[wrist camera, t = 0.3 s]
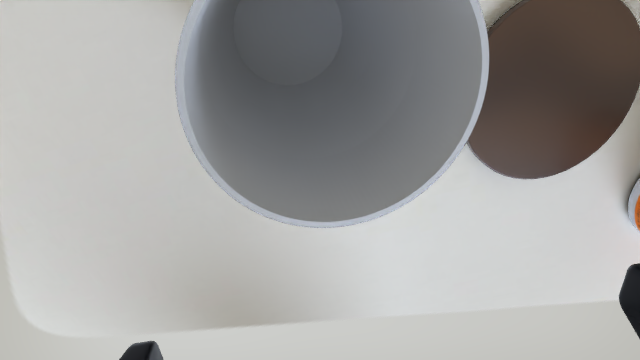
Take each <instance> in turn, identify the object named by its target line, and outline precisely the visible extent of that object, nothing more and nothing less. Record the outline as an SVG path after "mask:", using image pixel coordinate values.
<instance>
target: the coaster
mask: <svg viewBox="0 0 640 360" xmlns="http://www.w3.org/2000/svg"><path fill="white" fill-rule="evenodd" d="M487 35H488V44H489V72H488V81H487V87H486V92H485V97H484V101H483V104H482V108H481V111H480V114H479V116H478V119H477V121H476V124H475V126H474V128H473V130H472V132H471V134H470V136H469V138H468V140H467V144H468V146H469V148H470V149H471V151H472V152H473V153H474V155H475V156H476V157H477V158H478V159H479V160H480V161H481V162H482V163H483V164H485V165H486V166H487V167H489V168H490V169H492V170H493V171H495V172H497V173H499V174H502V175H504V176H508V177H512V178H518V179H537V178H544V177H548V176H552V175H555V174H558V173H561V172H563V171H566V170H568V169H570V168H572V167H574V166H576V165H577V164H579V163H580V162H582V161H584V160H585V159H587V158H588V157H589V156H590V155H592V154H593V153H594V152H596V151H597V150H598V149H599V148H600V147H601V146H602V145H603V144H604V143H605V142H606V141H607V140H608V139H609V138H610V137H611V136H612V134H613V133H614V132H615V131H616V129H617V128H618V127H619V125H620V124H621V123H622V121H623V120H624V118H625V116H626V115H627V113H628V111H629V109H630V107H631V105H632V103H633V101H634V99H635V96H636V93H637V91H638V88H639V84H640V28H639V26H638V24H637V21H636V19H635V17H634V16H633V14H632V13H631V11H630V10H629V8H628V7H627V6H626V5H625V4H624V3H623V2H622V1H621V0H523V1H521V2H520V3H518V4H517V5H516V6H514V7H513V8H511V9H510V10H509V11H508V12H506V13H505V14H504V15H503V16H502V17H501V18H500V19H498V21H497V22H496V23H495V24H494V25H493V26H492V27H491V28H490V29H489V30H488V32H487Z"/></svg>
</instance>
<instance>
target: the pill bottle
mask: <svg viewBox="0 0 640 360" xmlns="http://www.w3.org/2000/svg"><path fill="white" fill-rule="evenodd" d="M628 213H629V217H630V220H631V222H632V224H633V226H634V227H635V228H636V229H637V230H638V231H639V232H640V178H639V179H638V181H637V183H636V184H635V186H634V188H633V190H632V192H631V195H630V198H629V202H628Z"/></svg>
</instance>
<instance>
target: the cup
mask: <svg viewBox="0 0 640 360" xmlns="http://www.w3.org/2000/svg"><path fill="white" fill-rule="evenodd" d="M488 72H489V44H488V35H487V29H486V24H485V20H484V16H483V12H482V9H481V6H480V3H479V1H478V0H195V1H194V3H193V5H192V7H191V9H190V11H189V13H188V16H187V19H186V21H185V24H184V27H183V30H182V34H181V37H180V41H179V46H178V52H177V58H176V70H175V87H176V99H177V105H178V110H179V115H180V119H181V123H182V126H183V129H184V132H185V134H186V137H187V139H188V142H189V144H190V146H191V148H192V150H193V152H194V154H195V155H196V157H197V159H198V160H199V162H200V163H201V165H202V166H203V168H204V169H205V170H206V172H207V173H208V174H209V176H210V177H211V178H212V179H213V180H214V181H215V182H216V183H217V184H218V185H219V186H220V187H221V188H222V189H223V190H224V191H225V192H226V193H227V194H228V195H230V196H231V197H232V198H234V199H235V200H236V201H238V202H239V203H241V204H242V205H244V206H245V207H247V208H249V209H250V210H252V211H254V212H256V213H258V214H260V215H263V216H265V217H267V218H270V219H273V220H276V221H279V222H282V223H286V224H291V225H296V226H302V227H313V228H331V227H342V226H349V225H354V224H358V223H362V222H366V221H369V220H372V219H375V218H378V217H381V216H383V215H385V214H388V213H390V212H392V211H394V210H396V209H398V208H400V207H402V206H403V205H405V204H407V203H408V202H410V201H411V200H413V199H414V198H416V197H417V196H419V195H420V194H421V193H423V192H424V191H425V190H426V189H427V188H429V187H430V186H431V185H432V184H433V183H434V182H435V181H436V180H437V179H438V178H439V177H440V176H441V175H442V174H443V173H444V172H445V171H446V170H447V169H448V168H449V166H450V165H451V164H452V163H453V161H454V160H455V159H456V157H457V156H458V154H459V153H460V152H461V150H462V148H463V147H464V145H465V143H466V142H467V140H468V138H469V136H470V134H471V132H472V130H473V128H474V126H475V124H476V121H477V119H478V116H479V114H480V111H481V108H482V104H483V101H484V97H485V92H486V87H487V81H488Z"/></svg>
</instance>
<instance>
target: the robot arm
mask: <svg viewBox="0 0 640 360" xmlns="http://www.w3.org/2000/svg"><path fill="white" fill-rule="evenodd" d="M619 301H620V305H621V307H622V309H623V311H624V313H625V314H626V316H627V318H628V320H629V321H630V323H631V325H632V326H633V328H634V330H635V332H636V333H637V335H638V337H639V338H640V263H639V264H634V265H631V266H630V267H629V268H628V270H627V273H626V276H625V279H624V282H623V285H622V288H621V291H620V294H619ZM119 360H163V357H162V355H161V352H160V349H159V347H158V345H157V343H156V342H155V341H147V342H141V343H135V344H133V345H131V346H130V347H129V348H128V349H127V350H126V352H125V353H124V354H123V356H122V357H121V358H120V359H119Z"/></svg>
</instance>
